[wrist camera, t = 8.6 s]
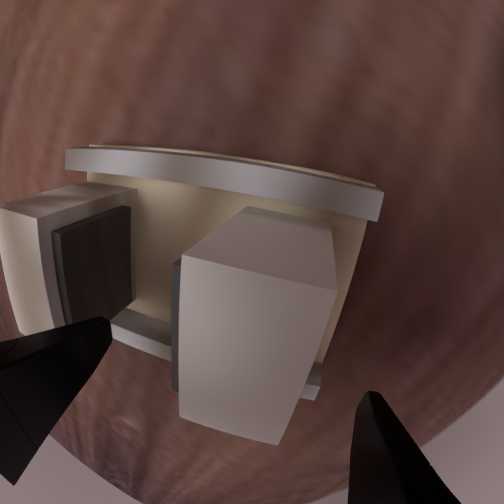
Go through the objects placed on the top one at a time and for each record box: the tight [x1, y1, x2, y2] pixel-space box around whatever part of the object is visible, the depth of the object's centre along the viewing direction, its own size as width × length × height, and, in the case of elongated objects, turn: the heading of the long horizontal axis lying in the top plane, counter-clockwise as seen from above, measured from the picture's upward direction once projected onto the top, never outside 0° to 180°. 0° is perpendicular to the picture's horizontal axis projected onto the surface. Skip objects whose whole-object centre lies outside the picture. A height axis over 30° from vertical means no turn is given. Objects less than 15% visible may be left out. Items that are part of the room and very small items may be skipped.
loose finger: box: [171, 206, 338, 446], centre depth 12 cm, size 5×7×7 cm, turn 171°
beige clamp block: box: [0, 144, 384, 400], centre depth 13 cm, size 16×12×8 cm
